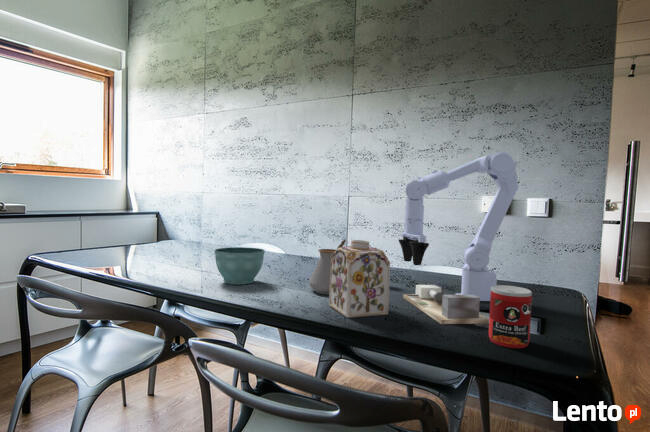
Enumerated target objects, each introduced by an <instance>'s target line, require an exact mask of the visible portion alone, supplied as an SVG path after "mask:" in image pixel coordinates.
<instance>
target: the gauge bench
mask: <svg viewBox="0 0 650 432" xmlns="http://www.w3.org/2000/svg"><path fill="white" fill-rule="evenodd" d="M415 294H416V293H415ZM415 294H414V293H411V294H409V293H408V294H407V293H405V294H402V298H403V299H405V300H406V301H407V302H408V303H410V304H412V305H413V306H414V307H416V308H417V309H419V310H420V311H422V312H423V313H425V314H426V315H427V316H429V317H430V318H431V319H433V320H434V321H436V322H437V323H439V324H440V325H460V324H461V325H466V324H467V325H469V324H471V325H472V324H473V325H475V324H477V325H478V324H479V325H481V324H488V325H489V318H487V317H485V316H483V315H481V314H480V306H481V305H480V304H481V303H480V302H481V301H480V297H477V296H475V295H455V294H444V295H443V300H442V303H441V304H439V303H437V302H435V300H434V298H420V297H418V296H407V295H415Z"/></svg>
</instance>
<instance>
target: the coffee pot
mask: <svg viewBox="0 0 650 432" xmlns="http://www.w3.org/2000/svg"><path fill="white" fill-rule="evenodd" d="M346 242H347V244H345V243H346ZM347 245H348V246H349V242H348V240H346V239H343V240H342V241H341V242H340V244H339V245H338V246H337V248H336V249H335V248H334V249H333V248H331V249H330V248H321V249H318V250H317V251H318V252H319V255H320V257H319V258H318V261H317V263H316V265H315V268H314V270H313V271H312V272H313V273H311V274H312V275H311V276H310V279H309V280H308V281H309V282H308V283H309V286H310V288H311V289H312V290H314V292H315V293H317V294H320V295H329V293H330V270H331V257H332V255H333V253H335V251H336V250H337V249H338V248H340V247H344V246H347Z"/></svg>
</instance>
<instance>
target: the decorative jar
mask: <svg viewBox="0 0 650 432" xmlns="http://www.w3.org/2000/svg"><path fill="white" fill-rule="evenodd" d="M337 248H338V247H337ZM337 248H336V249H335V250H336V251H335V253H333V255H332V257H331V270H330V293H329V294H328V295H329V299H328V300H329V301H328V302H329V303H328V305H329V306H330V307H331V308H333V309H334V310H335V311H336V312H338V313H340V314H341V315H343V316H344V317H345V318H348V319H350V318H351V319H352V318H362V317H372V316H384V315H386V316H387V315H389V302H390V281H391V280H390V277H391V274H390V272H391V262H390V260H389V258H388V257H387V256H386V255H387V254H386V253H385V252H384V250H383V249H380V248H376V247H372V246H370V241H368V240H362V239H361V240H359V239H352V240H351V241H350V246H349V245H348V246H347V245H344V246H343V247H340V248H338V249H337Z"/></svg>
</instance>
